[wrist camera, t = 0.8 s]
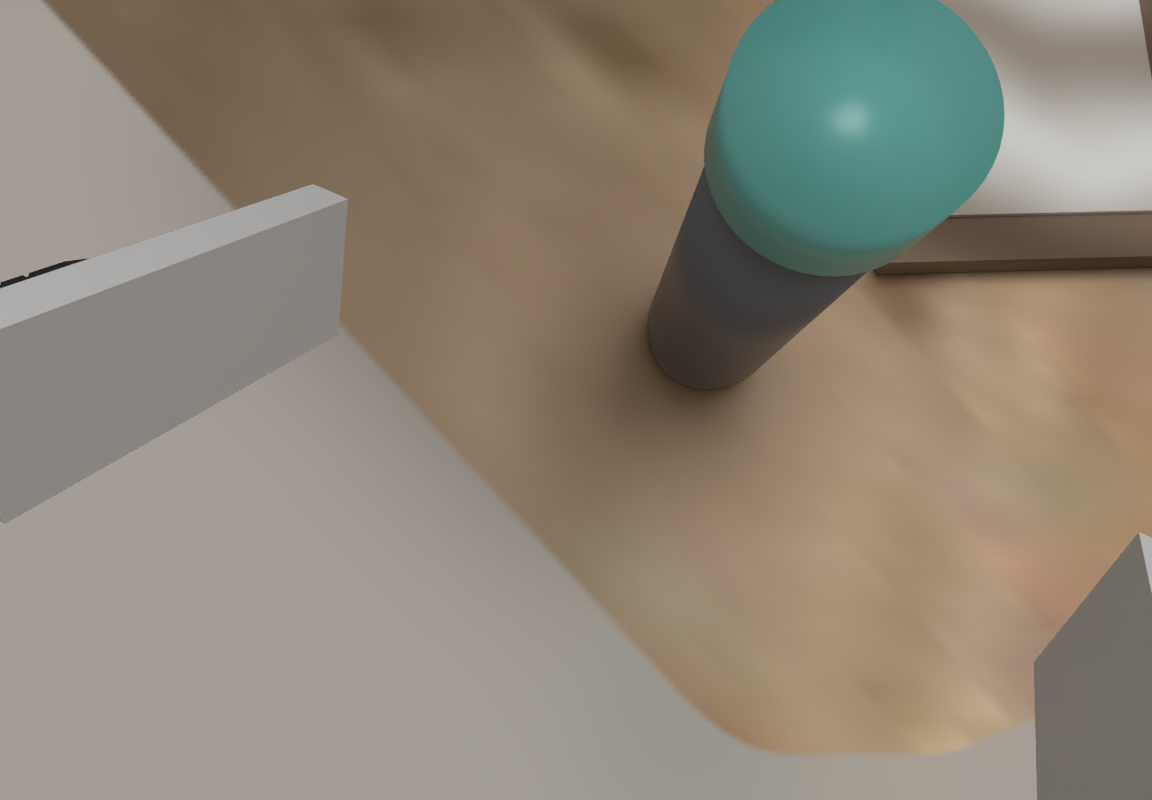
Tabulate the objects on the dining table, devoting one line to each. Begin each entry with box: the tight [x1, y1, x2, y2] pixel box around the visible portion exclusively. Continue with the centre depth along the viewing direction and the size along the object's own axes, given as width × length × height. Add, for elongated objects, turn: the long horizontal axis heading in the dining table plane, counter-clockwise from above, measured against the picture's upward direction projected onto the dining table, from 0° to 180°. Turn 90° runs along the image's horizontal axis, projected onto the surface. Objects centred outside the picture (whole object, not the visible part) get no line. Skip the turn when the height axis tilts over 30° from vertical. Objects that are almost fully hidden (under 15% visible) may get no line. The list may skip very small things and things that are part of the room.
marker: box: [648, 0, 1005, 390], centre depth 21 cm, size 4×4×15 cm
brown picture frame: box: [875, 0, 1152, 274], centre depth 29 cm, size 16×12×2 cm
